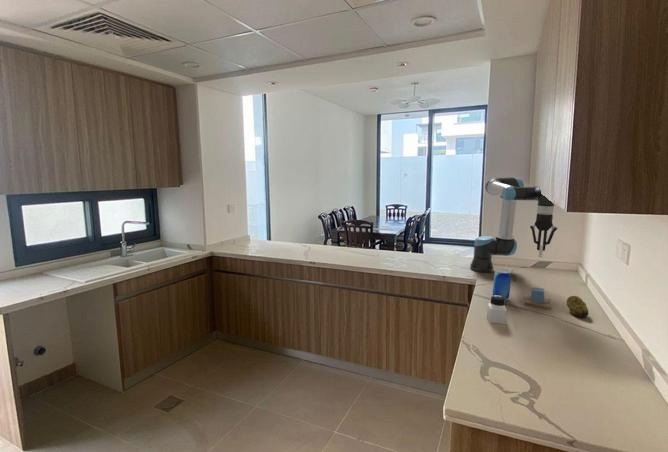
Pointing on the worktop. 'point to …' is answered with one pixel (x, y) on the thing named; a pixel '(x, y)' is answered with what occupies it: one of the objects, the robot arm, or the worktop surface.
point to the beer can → (502, 283)
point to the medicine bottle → (497, 310)
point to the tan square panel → (528, 302)
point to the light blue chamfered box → (537, 295)
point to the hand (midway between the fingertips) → (540, 256)
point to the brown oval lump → (577, 306)
